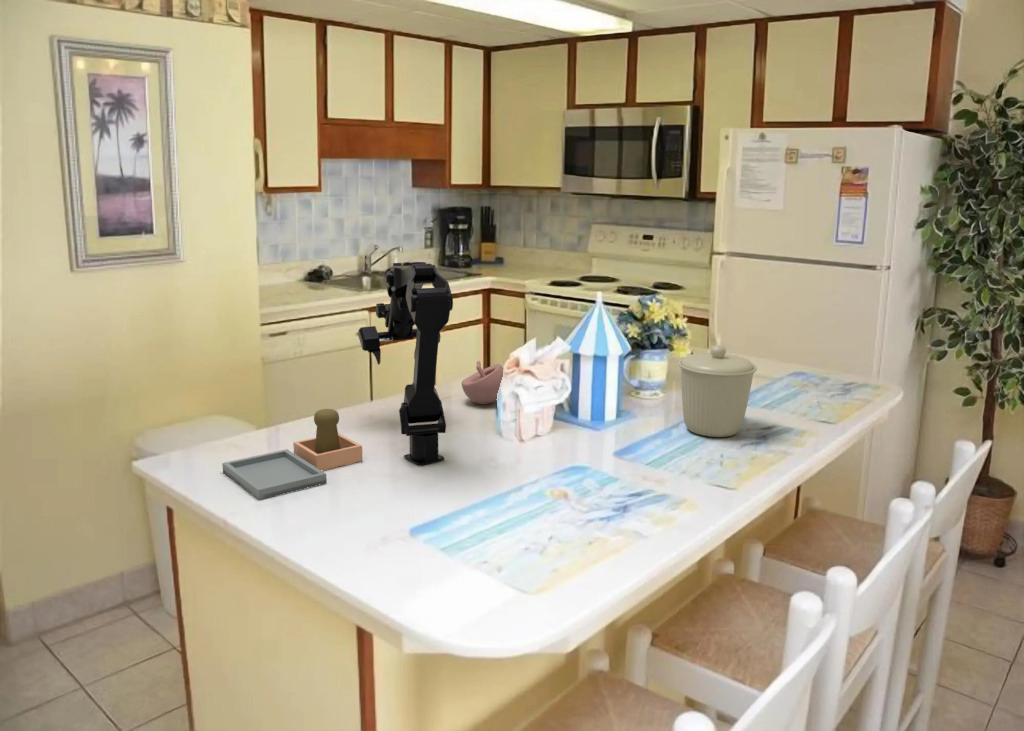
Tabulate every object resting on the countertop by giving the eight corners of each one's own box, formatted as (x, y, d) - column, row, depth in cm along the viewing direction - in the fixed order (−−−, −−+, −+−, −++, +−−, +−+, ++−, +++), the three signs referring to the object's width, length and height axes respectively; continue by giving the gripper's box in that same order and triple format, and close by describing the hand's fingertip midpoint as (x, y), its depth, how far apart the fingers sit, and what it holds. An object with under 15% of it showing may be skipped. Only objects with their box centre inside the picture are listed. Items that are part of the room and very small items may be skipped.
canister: (716, 448, 192) (723, 357, 187) (658, 427, 206) (663, 342, 201) (767, 434, 202) (775, 348, 197) (708, 415, 217) (714, 334, 211)
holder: (362, 461, 181) (362, 445, 180) (316, 472, 174) (316, 456, 173) (338, 447, 189) (338, 432, 188) (294, 457, 182) (293, 442, 181)
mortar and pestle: (463, 396, 230) (463, 355, 227) (508, 397, 230) (508, 356, 227) (459, 409, 218) (459, 366, 216) (505, 410, 218) (506, 367, 215)
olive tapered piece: (327, 452, 185) (325, 404, 183) (348, 458, 182) (346, 409, 180) (307, 461, 180) (305, 411, 178) (329, 466, 177) (327, 416, 175)
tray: (326, 483, 168) (326, 473, 168) (258, 500, 160) (258, 490, 159) (287, 458, 182) (286, 449, 181) (222, 472, 173) (222, 463, 173)
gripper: (431, 287, 205) (425, 336, 216) (354, 293, 199) (352, 343, 209) (444, 316, 198) (437, 365, 208) (364, 324, 191) (361, 374, 202)
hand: (397, 361), depth 207 cm, fingers open, 9 cm apart
